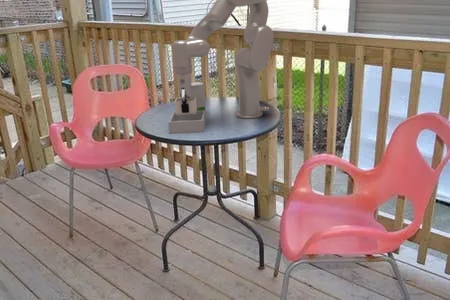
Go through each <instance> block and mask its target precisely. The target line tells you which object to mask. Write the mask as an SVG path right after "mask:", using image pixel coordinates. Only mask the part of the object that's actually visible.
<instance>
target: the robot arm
mask: <svg viewBox="0 0 450 300" xmlns="http://www.w3.org/2000/svg"><path fill="white" fill-rule="evenodd" d="M267 1H268V0H215V2H214V3H213V5H212V6H211V8H210V9H209V11H208V12H207V14H206V15H205V16H204V17H202V19H201V20H200V21H199V22H198V23H197V24H196V25H195V26H194V28H193V29H192V30H191V32H190V33H189V35H188V37H187V38H186V39H180V40H174V41H173V42H172V43H171V45H172V46H171V47H172V58H173V60H172V61H173V68H174V69H173V71H174V75H176V76H177V88H178V89H177V90H178V98H181V109H182V113H189V103H188V98H190V96H191V94H192V85H191V83H192V77H191V74H192V73H193V68H192V67H193V66H192V64H193V63H192V58H203V57H206V56H207V55H208V54H209V53H210V51H211V46H210V44H209V42H208V41H207V38H208V37H209V36H210V35H211V34H212V33H214V32H216V31H217V30H220V29H221V28H222V27H224V26H225V25H226V23H227V22H228V21H229V18H230V17H231V15H232V14H233V12H234V10H235V9H236V8H237V7H238V8H241V7H247V6H249V12H248V18H247V20H246V26H245V29H244V34H243V39H244V42H246V44H247V45H250V46H251V47H243V48H240V49H239V50H238V51H237V52H236V54H235V57H234V59H235V60H234V62H235V67H236V71H237V83H238V84H237V87H238V91H237V92H238V107H239V110H238V111H237V112H236V117H237V118H240V119H246V120H247V119H248V120H249V119H256V118H260V117H262V116H263V112H269V111H270V107H269V106H265V105H264V106H261V105H260V88H259V87H260V85H259V72H261V71H263V70H265V68H266V67H267V64H268V62H269V58H270V54H271V51H272V47H273V43H274V39H275V38H274V31H273V29H272V28H271V27H270V26H269V25H267V21H268V19H269V12H270V11H269V4H268V2H267ZM185 98H186V99H185Z"/></svg>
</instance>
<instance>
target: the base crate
mask: <svg viewBox="0 0 450 300" xmlns="http://www.w3.org/2000/svg"><path fill="white" fill-rule="evenodd" d="M167 123H168V132H169V134H181V133H182V134H183V133H185V134H186V133H204V132H205V126H206V123H207V111H206V112H205V111H197V112H196V114H184V115H176V114H175V111H173V112H172V113H171V116H170V117H169V120H168V122H167Z"/></svg>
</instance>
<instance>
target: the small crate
mask: <svg viewBox="0 0 450 300" xmlns="http://www.w3.org/2000/svg"><path fill="white" fill-rule="evenodd" d="M185 99H186V98H185ZM188 103H189V113H182V109H181V97H176V98H175V99H174V112H175V114H176V115H184V114H196V112H197V102H196V97H194V98H188Z"/></svg>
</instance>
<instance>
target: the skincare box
mask: <svg viewBox="0 0 450 300" xmlns="http://www.w3.org/2000/svg"><path fill="white" fill-rule="evenodd" d="M191 85H192V94H191V96H190V98H194V97H196V102H197V111H205V112H206V113H207V109H206V95H205V94H206V93H205V91H206V90H205V84H204V83H203V82H200V81H198V82H197V81H196V82H191Z"/></svg>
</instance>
